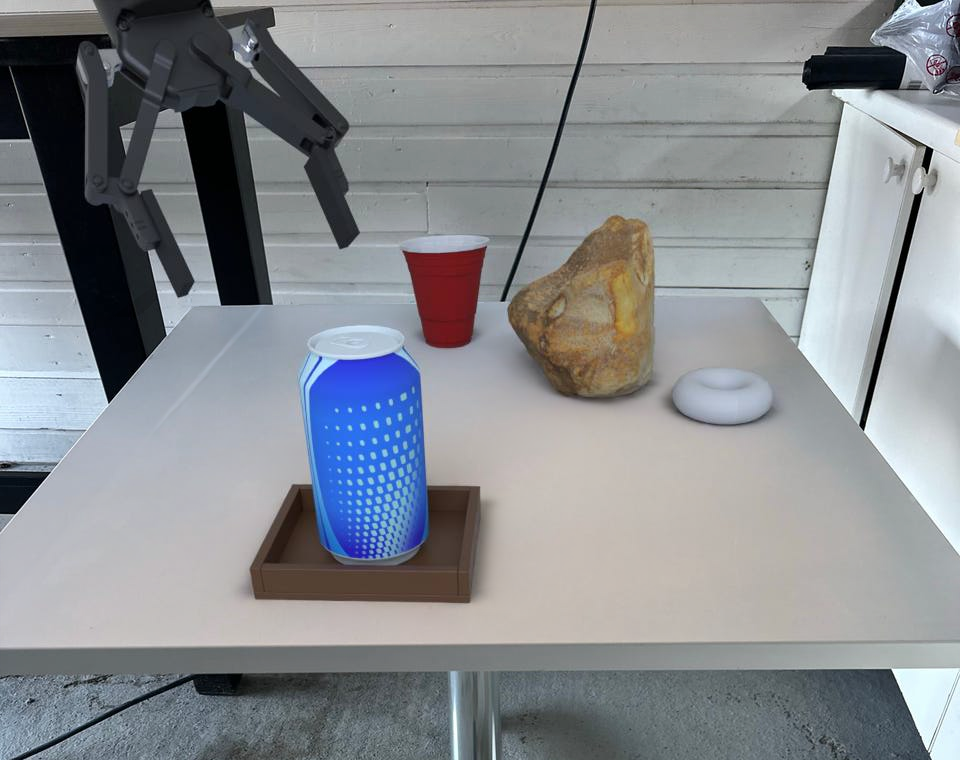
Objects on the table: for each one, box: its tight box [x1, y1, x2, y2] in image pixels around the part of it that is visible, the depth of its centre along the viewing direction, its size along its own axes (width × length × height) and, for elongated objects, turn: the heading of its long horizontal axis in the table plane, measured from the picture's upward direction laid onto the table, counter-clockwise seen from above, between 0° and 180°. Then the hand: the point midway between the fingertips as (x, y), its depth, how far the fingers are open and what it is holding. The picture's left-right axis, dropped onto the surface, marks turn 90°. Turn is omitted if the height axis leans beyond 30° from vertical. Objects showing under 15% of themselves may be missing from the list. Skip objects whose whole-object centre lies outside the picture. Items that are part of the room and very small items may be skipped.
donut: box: [671, 366, 774, 426], centre depth 93 cm, size 10×3×10 cm
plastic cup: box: [398, 234, 491, 349], centre depth 111 cm, size 11×11×12 cm
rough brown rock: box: [506, 214, 656, 399], centre depth 101 cm, size 23×17×15 cm
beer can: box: [297, 324, 429, 565], centre depth 67 cm, size 8×8×16 cm
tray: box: [249, 483, 482, 604], centre depth 71 cm, size 16×14×3 cm
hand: (271, 265), depth 68 cm, fingers open, 13 cm apart
